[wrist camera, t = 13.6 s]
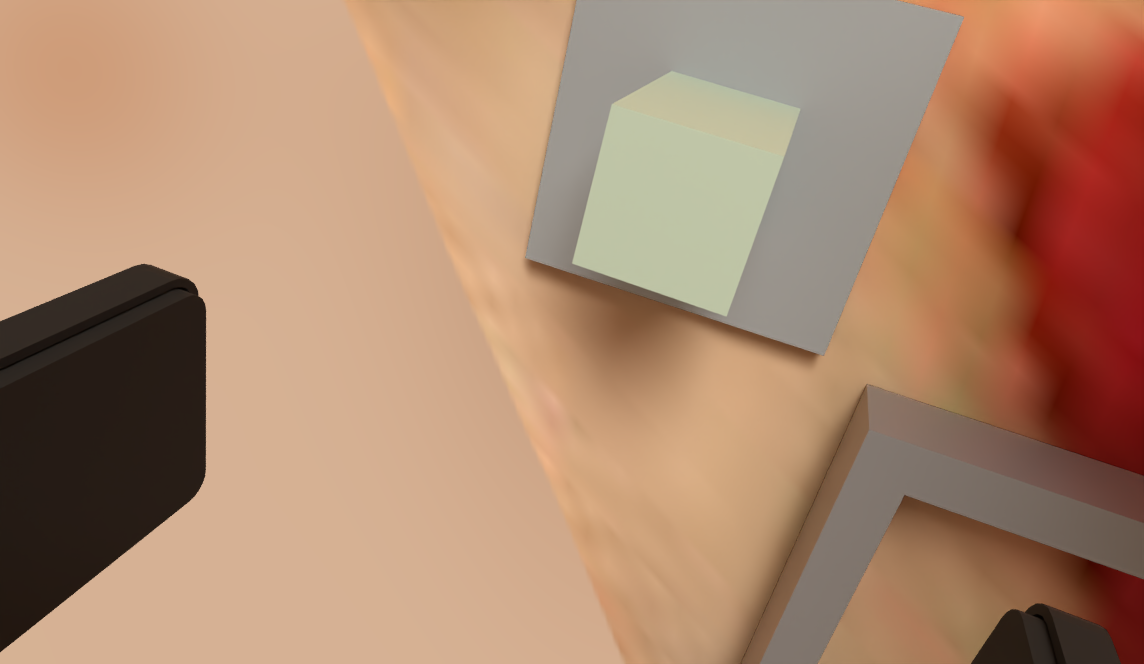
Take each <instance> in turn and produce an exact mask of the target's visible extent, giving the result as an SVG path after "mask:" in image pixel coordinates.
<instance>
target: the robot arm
mask: <svg viewBox="0 0 1144 664" xmlns="http://www.w3.org/2000/svg"><path fill="white" fill-rule="evenodd" d="M205 470H206V307H205V303H204V301H203V299H202V298H200V297H199V296H198V290H197V288H196V286H195V284H194V283H193V282H191V281H190V280H189V279H186V278H184V277H181V276H178V275H176V274H173V273H170V272H168V271H165V270H163V269H160V268H157V267H155V266H152V265H147V264H141V265H137V266H134V267H131V268H129V269H126V270H124V271H122V272H119V273H116V274H114V275H112V276H109V277H107V278H104V279H102V280H99V281H97V282H95V283H92V284H90V285H87V286H85V287H82V288H80V289H78V290H75V291H73V292H71V293H68V294H65V295H63V296H61V297H58V298H56V299H53V300H51V301H49V302H46V303H44V304H41V305H39V306H36V307H34V308H32V309H29V310H27V311H25V312H22V313H20V314H17V315H15V316H12V317H10V318H8V319H5V320H2V321H0V652H1V651H2V650H3V649H5V648H6V647H7V646H9V645H10V644H11V643H12V642H14V641H15V640H16V639H17V638H19V637H20V636H21V635H22V634H24V633H25V632H26V631H27V630H29V629H30V628H31V627H32V626H34V625H35V624H36V623H37V622H39V621H40V620H41V619H43V618H44V617H45V616H46V615H47V614H49V613H50V612H51V611H52V610H54V609H55V608H56V607H58V606H59V605H60V604H61V603H62V602H64V601H65V600H66V599H67V598H69V597H70V596H71V595H73V594H74V593H75V592H76V591H78V590H79V589H80V588H81V587H83V586H84V585H85V584H86V583H88V582H89V581H90V580H91V579H92V578H94V577H95V576H96V575H98V574H99V573H100V572H101V571H103V570H104V569H105V568H106V567H108V566H109V565H110V564H111V563H113V562H114V561H115V560H116V559H118V558H119V557H120V556H121V555H123V554H124V553H125V552H126V551H128V550H129V549H130V548H131V547H133V546H134V545H135V544H137V543H138V542H139V541H140V540H142V539H143V538H144V537H145V536H147V535H148V534H149V533H150V532H152V531H153V530H154V529H155V528H156V527H158V526H159V525H160V524H162V523H163V522H164V521H165V520H167V519H168V518H169V517H170V516H172V515H173V514H174V513H175V512H177V511H178V510H179V509H180V508H182V507H183V506H184V505H185V504H187V503H188V502H189V501H190V500H191V499H192V498H193V497H194V496H195V495H196V493H197V492H198V491H199V489H200V487H201V485H202V483H203V481H204V478H205ZM971 664H1121V663H1120V660H1119V657H1118V655H1117V652H1116V650H1115V647H1114V644H1113V642H1112V639H1111V637H1110V635H1109V634H1108V632H1107V630H1106V629H1104V628H1103V627H1101V626H1100V625H1097V624H1095V623H1092V622H1090V621H1087V620H1084V619H1082V618H1079V617H1076V616H1074V615H1071V614H1069V613H1066V612H1063V611H1061V610H1058V609H1055V608H1053V607H1050V606H1047V605H1045V604H1035V605H1033V606H1031V607H1030V608H1028V610H1027V611H1026V612H1025V613H1024V612H1022V611H1019V610H1016V609H1011V610H1010V611H1008V612H1006V614H1005V615H1004V616H1003V617H1002V618H1001V620H1000V621H999V623H998V624H997V626H996V627H995V629H994V630H993V632H992V633H991V635H990V636H989V638H988V639H987V641H986V642H985V644H984V645H983V647H982V648H981V650H980V651H979V652H978V654H977V655H976V657H975V658H974V660H973V661H972V663H971Z"/></svg>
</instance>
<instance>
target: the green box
mask: <svg viewBox="0 0 1144 664" xmlns="http://www.w3.org/2000/svg"><path fill="white" fill-rule="evenodd" d="M799 112H800V108H796V107H793V106H789V105H786V104H782V103H779V102H776V101H772V100H769V99H765V98H762V97H759V96H755V95H752V94H748V93H745V92H741V91H738V90H735V89H731V88H728V87H724V86H721V85H718V84H714V83H711V82H707V81H704V80H701V79H697V78H694V77H690V76H687V75H683V74H680V73H677V72H673V71H671V72H669V73H667V74H666V75H664V76H662V77H660V78H658V79H657V80H655V81H653V82H651V83H649V84H647V85H646V86H644V87H642V88H640V89H638V90H637V91H635V92H633V93H631V94H629V95H627V96H626V97H624V98H622V99H620V100H618V101H617V102H615V103H613V104H612V105H611V109H610V113H609V117H608V121H607V125H606V129H605V133H604V137H603V141H602V145H601V149H600V153H599V157H598V161H597V165H596V169H595V173H594V177H593V181H592V185H591V189H590V193H589V197H588V201H587V206H586V210H585V214H584V218H583V222H582V226H581V230H580V234H579V238H578V242H577V246H576V250H575V254H574V258H573V262H572V264H575V265H578V266H581V267H584V268H587V269H590V270H592V271H595V272H598V273H601V274H604V275H607V276H610V277H613V278H616V279H619V280H622V281H624V282H627V283H630V284H633V285H636V286H639V287H642V288H645V289H648V290H651V291H654V292H656V293H659V294H662V295H665V296H668V297H671V298H674V299H677V300H680V301H683V302H686V303H689V304H691V305H694V306H697V307H700V308H703V309H706V310H709V311H712V312H715V313H718V314H721V315H723V316H726V317H727V314H728V311H729V309H730V306H731V303H732V300H733V297H734V295H735V292H736V289H737V286H738V284H739V281H740V278H741V275H742V273H743V270H744V267H745V264H746V261H747V259H748V256H749V253H750V250H751V248H752V245H753V242H754V239H755V237H756V234H757V231H758V228H759V225H760V223H761V220H762V217H763V214H764V212H765V209H766V206H767V203H768V201H769V198H770V195H771V192H772V189H773V187H774V184H775V181H776V178H777V176H778V173H779V170H780V167H781V165H782V162H783V159H784V156H785V153H786V150H787V147H788V144H789V142H790V139H791V136H792V133H793V130H794V127H795V124H796V121H797V118H798V115H799Z"/></svg>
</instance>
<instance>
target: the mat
mask: <svg viewBox="0 0 1144 664" xmlns="http://www.w3.org/2000/svg"><path fill="white" fill-rule="evenodd" d="M963 19H964V17H963V16H960V15H956V14H951V13H947V12H943V11H939V10H935V9H931V8H927V7H923V6H919V5H915V4H910V3H906V2H902V1H898V0H577V2H576V7H575V12H574V17H573V22H572V27H571V32H570V37H569V42H568V47H567V52H566V57H565V62H564V67H563V72H562V77H561V82H560V87H559V92H558V97H557V102H556V107H555V112H554V117H553V122H552V127H551V132H550V137H549V142H548V147H547V152H546V157H545V162H544V167H543V172H542V177H541V182H540V187H539V192H538V197H537V202H536V207H535V212H534V217H533V222H532V227H531V232H530V237H529V242H528V247H527V252H526V257H525V258H527V259H530V260H533V261H536V262H539V263H542V264H545V265H548V266H551V267H554V268H557V269H560V270H563V271H566V272H569V273H572V274H576V275H579V276H582V277H585V278H588V279H591V280H594V281H597V282H600V283H603V284H606V285H609V286H612V287H615V288H618V289H621V290H624V291H627V292H630V293H633V294H637V295H640V296H643V297H646V298H649V299H652V300H655V301H658V302H661V303H664V304H667V305H670V306H673V307H676V308H679V309H682V310H685V311H688V312H691V313H695V314H698V315H701V316H704V317H707V318H710V319H713V320H716V321H719V322H722V323H725V324H728V325H731V326H734V327H737V328H740V329H743V330H746V331H749V332H753V333H756V334H759V335H762V336H765V337H768V338H771V339H774V340H777V341H780V342H783V343H786V344H789V345H792V346H795V347H798V348H801V349H804V350H807V351H811V352H814V353H817V354H820V355H823V356H824V354H825V352H826V350H827V347H828V345H829V342H830V340H831V338H832V335H833V333H834V330H835V328H836V325H837V323H838V321H839V318H840V316H841V313H842V311H843V309H844V306H845V304H846V301H847V299H848V297H849V294H850V292H851V289H852V287H853V284H854V282H855V280H856V277H857V275H858V272H859V270H860V268H861V265H862V263H863V260H864V258H865V255H866V253H867V251H868V248H869V246H870V243H871V241H872V239H873V236H874V234H875V231H876V229H877V226H878V224H879V222H880V219H881V217H882V214H883V212H884V210H885V207H886V205H887V202H888V200H889V197H890V195H891V193H892V190H893V188H894V185H895V183H896V181H897V178H898V176H899V173H900V171H901V168H902V166H903V164H904V161H905V159H906V156H907V154H908V152H909V149H910V147H911V144H912V142H913V139H914V137H915V135H916V132H917V130H918V127H919V125H920V123H921V120H922V118H923V115H924V113H925V110H926V108H927V106H928V103H929V101H930V98H931V96H932V94H933V91H934V89H935V86H936V84H937V81H938V79H939V77H940V74H941V72H942V69H943V67H944V65H945V62H946V60H947V57H948V55H949V53H950V50H951V48H952V45H953V43H954V40H955V38H956V36H957V33H958V31H959V28H960V26H961V24H962V21H963ZM671 71H673V72H677V73H680V74H683V75H687V76H690V77H694V78H697V79H701V80H704V81H707V82H711V83H714V84H718V85H721V86H724V87H728V88H731V89H735V90H738V91H741V92H745V93H748V94H752V95H755V96H759V97H762V98H765V99H769V100H772V101H776V102H779V103H782V104H786V105H789V106H793V107H796V108H800V112H799V115H798V118H797V121H796V124H795V127H794V130H793V133H792V136H791V139H790V142H789V144H788V147H787V150H786V153H785V156H784V159H783V162H782V165H781V167H780V170H779V173H778V176H777V178H776V181H775V184H774V187H773V189H772V192H771V195H770V198H769V201H768V203H767V206H766V209H765V212H764V214H763V217H762V220H761V223H760V225H759V228H758V231H757V234H756V237H755V239H754V242H753V245H752V248H751V250H750V253H749V256H748V259H747V261H746V264H745V267H744V270H743V273H742V275H741V278H740V281H739V284H738V286H737V289H736V292H735V295H734V297H733V300H732V303H731V306H730V309H729V311H728V314H727V317H726V316H723V315H721V314H718V313H715V312H712V311H709V310H706V309H703V308H700V307H697V306H694V305H691V304H689V303H686V302H683V301H680V300H677V299H674V298H671V297H668V296H665V295H662V294H659V293H656V292H654V291H651V290H648V289H645V288H642V287H639V286H636V285H633V284H630V283H627V282H624V281H622V280H619V279H616V278H613V277H610V276H607V275H604V274H601V273H598V272H595V271H592V270H590V269H587V268H584V267H581V266H578V265H575V264H572V262H573V258H574V254H575V250H576V246H577V242H578V238H579V234H580V230H581V226H582V222H583V218H584V214H585V210H586V206H587V201H588V197H589V193H590V189H591V185H592V181H593V177H594V173H595V169H596V165H597V161H598V157H599V153H600V149H601V145H602V141H603V137H604V133H605V129H606V125H607V121H608V117H609V113H610V109H611V105H612V104H613V103H615V102H617V101H618V100H620V99H622V98H624V97H626V96H627V95H629V94H631V93H633V92H635V91H637V90H638V89H640V88H642V87H644V86H646V85H647V84H649V83H651V82H653V81H655V80H657V79H658V78H660V77H662V76H664V75H666V74H667V73H669V72H671Z"/></svg>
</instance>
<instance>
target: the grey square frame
mask: <svg viewBox="0 0 1144 664" xmlns="http://www.w3.org/2000/svg"><path fill="white" fill-rule="evenodd" d="M904 495H906V496H909V497H912V498H914V499H917V500H920V501H923V502H926V503H929V504H931V505H934V506H937V507H940V508H943V509H946V510H948V511H951V512H954V513H957V514H960V515H963V516H965V517H968V518H971V519H974V520H977V521H980V522H983V523H985V524H988V525H991V526H994V527H997V528H1000V529H1002V530H1005V531H1008V532H1011V533H1014V534H1017V535H1019V536H1022V537H1025V538H1028V539H1031V540H1034V541H1036V542H1039V543H1042V544H1045V545H1048V546H1051V547H1053V548H1056V549H1059V550H1062V551H1065V552H1068V553H1070V554H1073V555H1076V556H1079V557H1082V558H1085V559H1087V560H1090V561H1093V562H1096V563H1099V564H1102V565H1105V566H1107V567H1110V568H1113V569H1116V570H1119V571H1122V572H1124V573H1127V574H1130V575H1133V576H1136V577H1139V578H1141V579H1144V476H1143V475H1140V474H1137V473H1134V472H1131V471H1128V470H1125V469H1122V468H1119V467H1116V466H1113V465H1110V464H1107V463H1104V462H1101V461H1098V460H1095V459H1092V458H1089V457H1086V456H1082V455H1079V454H1076V453H1073V452H1070V451H1067V450H1064V449H1061V448H1058V447H1055V446H1052V445H1049V444H1046V443H1043V442H1040V441H1037V440H1034V439H1031V438H1028V437H1025V436H1022V435H1019V434H1016V433H1013V432H1010V431H1007V430H1004V429H1001V428H998V427H995V426H992V425H989V424H986V423H983V422H980V421H977V420H974V419H971V418H968V417H965V416H962V415H959V414H956V413H952V412H949V411H946V410H943V409H940V408H937V407H934V406H931V405H928V404H925V403H922V402H919V401H916V400H913V399H910V398H907V397H904V396H901V395H898V394H895V393H892V392H889V391H886V390H883V389H880V388H877V387H874V386H871V385H868V384H867V385H866V388H865V390H864V392H863V394H862V396H861V399H860V401H859V403H858V405H857V407H856V410H855V412H854V414H853V416H852V419H851V421H850V423H849V425H848V427H847V430H846V432H845V434H844V436H843V438H842V441H841V443H840V445H839V447H838V450H837V452H836V454H835V456H834V458H833V461H832V463H831V465H830V467H829V469H828V472H827V474H826V476H825V478H824V481H823V483H822V485H821V487H820V489H819V492H818V494H817V496H816V498H815V501H814V503H813V505H812V507H811V509H810V512H809V514H808V516H807V518H806V520H805V523H804V525H803V527H802V529H801V532H800V534H799V536H798V538H797V540H796V543H795V545H794V547H793V549H792V551H791V554H790V556H789V558H788V560H787V563H786V565H785V567H784V569H783V571H782V574H781V576H780V578H779V580H778V582H777V585H776V587H775V589H774V591H773V594H772V596H771V598H770V600H769V602H768V605H767V607H766V609H765V611H764V613H763V616H762V618H761V620H760V622H759V625H758V627H757V629H756V631H755V633H754V636H753V638H752V640H751V642H750V644H749V647H748V649H747V651H746V653H745V656H744V658H743V660H742V662H741V664H818V662H819V660H820V658H821V656H822V654H823V652H824V650H825V648H826V646H827V644H828V642H829V640H830V638H831V636H832V635H833V633H834V631H835V629H836V627H837V625H838V623H839V621H840V619H841V617H842V615H843V613H844V611H845V609H846V607H847V606H848V604H849V602H850V600H851V598H852V596H853V594H854V592H855V590H856V588H857V586H858V584H859V582H860V580H861V578H862V576H863V575H864V573H865V571H866V569H867V567H868V565H869V563H870V561H871V559H872V557H873V555H874V553H875V551H876V549H877V547H878V545H879V544H880V542H881V540H882V538H883V536H884V534H885V532H886V530H887V528H888V526H889V524H890V522H891V520H892V518H893V516H894V514H895V513H896V511H897V509H898V507H899V505H900V503H901V501H902V499H903V497H904Z"/></svg>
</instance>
